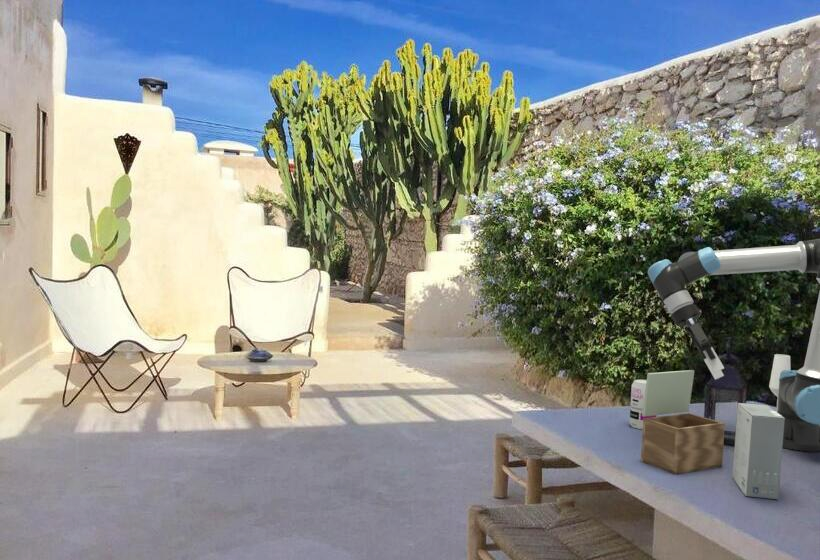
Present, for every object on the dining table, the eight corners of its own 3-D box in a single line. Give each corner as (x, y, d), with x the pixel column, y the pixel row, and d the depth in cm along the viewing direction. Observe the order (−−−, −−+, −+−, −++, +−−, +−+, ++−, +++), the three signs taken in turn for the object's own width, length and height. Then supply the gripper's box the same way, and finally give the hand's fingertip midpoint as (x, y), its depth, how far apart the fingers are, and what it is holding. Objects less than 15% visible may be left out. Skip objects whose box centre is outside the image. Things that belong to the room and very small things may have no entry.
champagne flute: (768, 421, 259) (773, 353, 258) (790, 425, 255) (795, 355, 254) (764, 425, 254) (769, 355, 252) (786, 428, 250) (791, 357, 248)
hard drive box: (779, 500, 178) (785, 418, 177) (745, 497, 179) (751, 415, 178) (762, 480, 193) (768, 404, 192) (731, 477, 195) (736, 401, 193)
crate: (685, 454, 214) (688, 413, 213) (721, 466, 204) (724, 423, 203) (640, 461, 205) (642, 418, 205) (675, 474, 195) (678, 429, 194)
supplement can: (658, 426, 246) (661, 381, 245) (651, 431, 239) (654, 385, 238) (633, 422, 250) (636, 378, 249) (626, 427, 243) (628, 381, 242)
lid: (688, 411, 213) (686, 410, 214) (694, 370, 212) (692, 370, 212) (644, 416, 205) (641, 415, 205) (649, 374, 203) (647, 373, 204)
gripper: (672, 323, 231) (707, 385, 223) (667, 304, 209) (706, 373, 200) (695, 312, 229) (731, 374, 221) (693, 292, 207) (733, 360, 199)
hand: (719, 374), depth 211 cm, fingers open, 13 cm apart
